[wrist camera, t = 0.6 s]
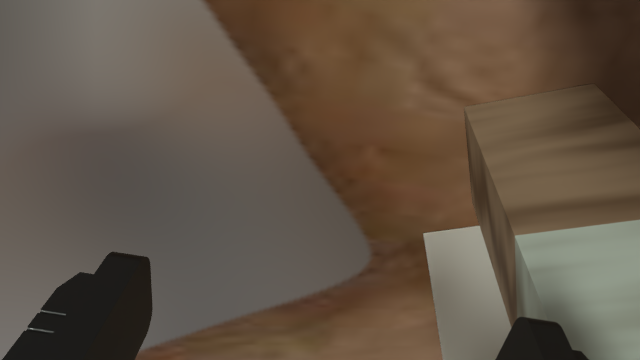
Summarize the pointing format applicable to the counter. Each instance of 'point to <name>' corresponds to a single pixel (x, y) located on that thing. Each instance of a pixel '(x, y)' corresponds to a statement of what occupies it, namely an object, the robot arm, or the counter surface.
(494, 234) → the tower
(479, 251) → the stand
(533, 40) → the counter surface
